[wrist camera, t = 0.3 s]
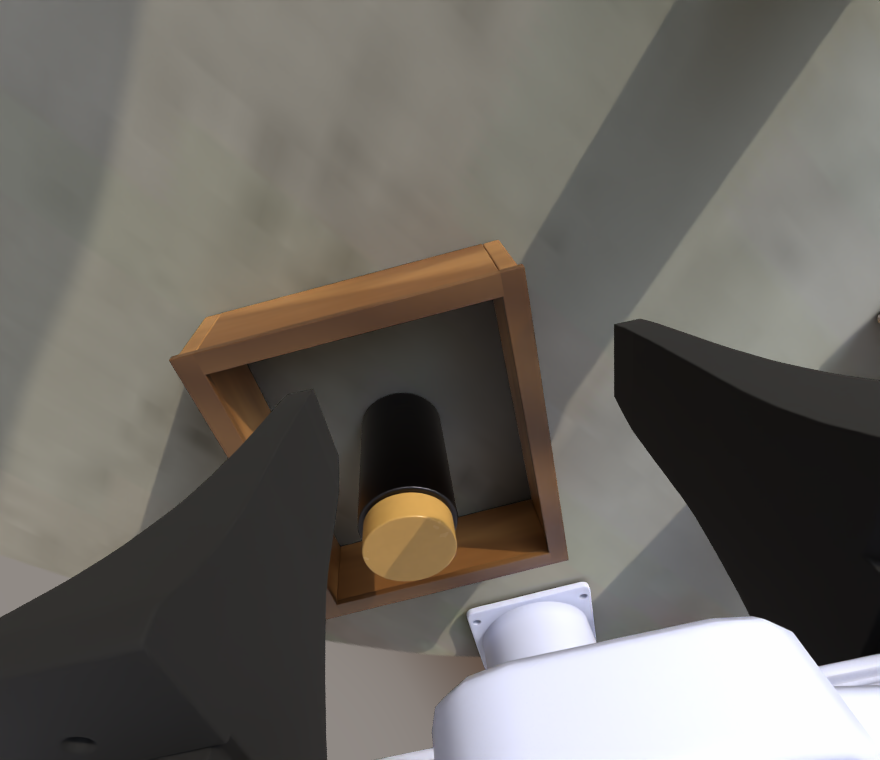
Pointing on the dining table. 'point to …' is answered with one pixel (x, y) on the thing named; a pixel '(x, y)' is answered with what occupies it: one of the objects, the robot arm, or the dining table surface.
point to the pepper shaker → (405, 490)
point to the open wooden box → (372, 308)
